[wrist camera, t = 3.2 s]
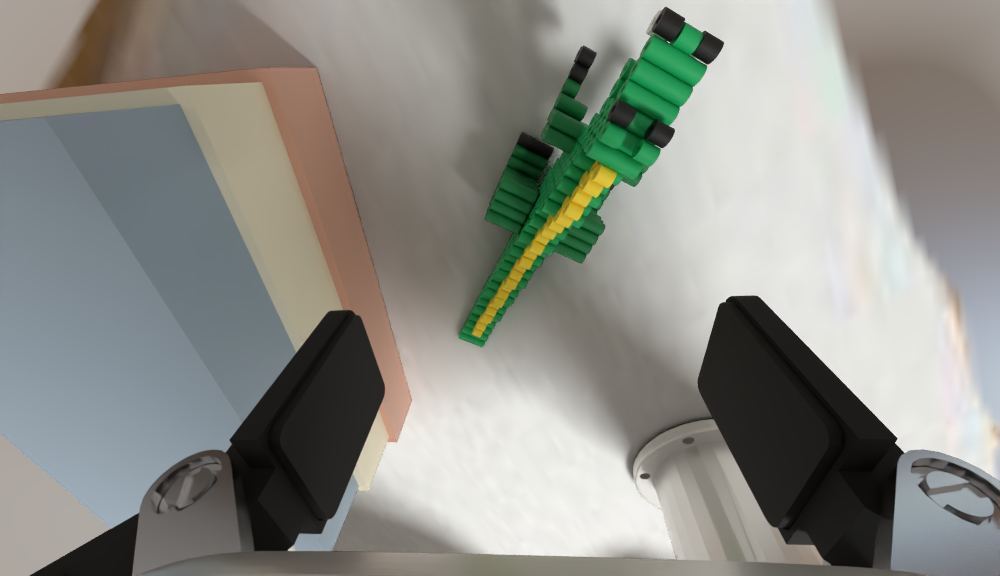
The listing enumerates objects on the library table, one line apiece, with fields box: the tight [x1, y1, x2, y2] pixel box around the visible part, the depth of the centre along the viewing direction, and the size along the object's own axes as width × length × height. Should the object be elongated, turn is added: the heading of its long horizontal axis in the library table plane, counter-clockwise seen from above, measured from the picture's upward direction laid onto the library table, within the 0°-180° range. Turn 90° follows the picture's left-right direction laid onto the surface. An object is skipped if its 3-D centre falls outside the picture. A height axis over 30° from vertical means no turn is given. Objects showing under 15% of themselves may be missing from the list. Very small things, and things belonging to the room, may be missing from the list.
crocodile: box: [459, 7, 724, 347], centre depth 18 cm, size 20×6×9 cm, turn 155°
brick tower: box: [0, 67, 412, 551], centre depth 20 cm, size 14×24×12 cm, turn 5°
